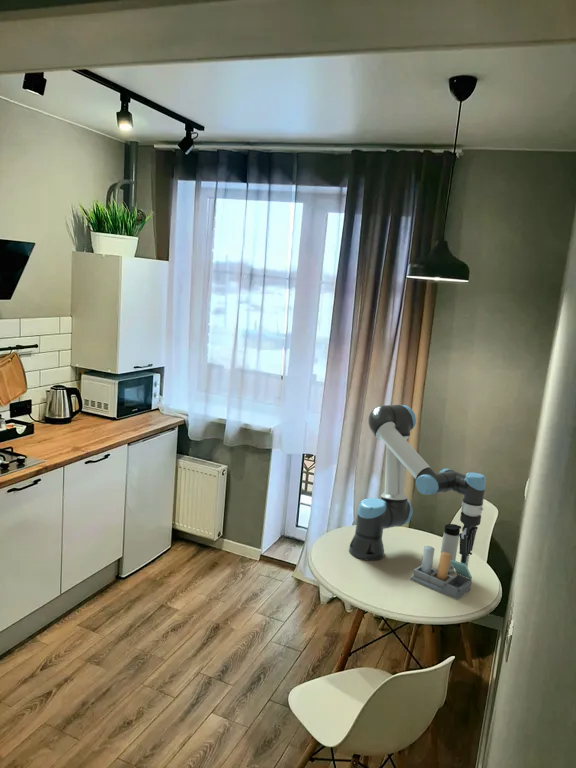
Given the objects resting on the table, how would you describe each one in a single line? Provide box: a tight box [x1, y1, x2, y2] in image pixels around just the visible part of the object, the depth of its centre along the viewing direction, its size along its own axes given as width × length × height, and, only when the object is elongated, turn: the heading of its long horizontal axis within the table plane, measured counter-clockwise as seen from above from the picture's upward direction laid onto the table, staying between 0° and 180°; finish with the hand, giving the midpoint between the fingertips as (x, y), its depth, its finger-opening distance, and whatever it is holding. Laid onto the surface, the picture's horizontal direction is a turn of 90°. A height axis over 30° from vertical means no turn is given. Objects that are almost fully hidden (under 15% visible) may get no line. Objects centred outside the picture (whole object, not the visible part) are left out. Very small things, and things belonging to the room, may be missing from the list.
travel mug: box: [439, 523, 462, 575], centre depth 238 cm, size 6×7×20 cm
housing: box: [409, 564, 473, 601], centre depth 226 cm, size 20×12×4 cm, turn 50°
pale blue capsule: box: [421, 545, 435, 575], centre depth 230 cm, size 4×4×12 cm
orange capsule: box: [436, 551, 451, 581], centre depth 225 cm, size 4×4×12 cm
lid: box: [451, 560, 473, 580], centre depth 222 cm, size 6×12×1 cm
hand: (463, 569), depth 224 cm, fingers closed
